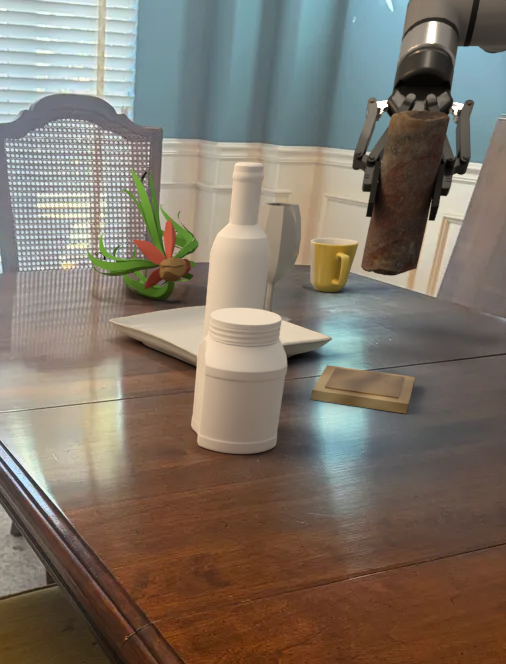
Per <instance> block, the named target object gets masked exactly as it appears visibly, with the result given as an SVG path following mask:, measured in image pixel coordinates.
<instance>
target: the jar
mask: <svg viewBox="0 0 506 664" xmlns="http://www.w3.org/2000/svg"><path fill="white" fill-rule="evenodd" d="M279 315H280V314H277V313H276V312H273V311H272V312H270V311H265V310H264V309H263V310H260V309H252V308H224V309H219V310H215V311H213V312H212V313H211V314H210V322H209V323H210V326H209V332H208V335H207V336H206V337H205V338H204V339H203V340H202V342H201V343H200V344H199V347H198V350H197V366H196V371H195V383H194V395H193V406H192V416H191V424H190V427H191V429H192V431H194V432H195V433H196V435H197V438H196V439H197V440H196V442H197V446H199V447H201V448H203V449H205V450H209V451H212V452H213V451H214V452H217V453H222V454H230V455H254V454H259V453H264V452H267V451H269V450H272V449H274V448H275V447H276V445H277V442H278V441H277V440H278V429H279V423H280V422H279V421H280V414H281V409H282V407H281V406H282V400H283V394H284V387H285V380H286V376H287V373H288V372H287V371H288V358H287V357H286V353H285V350H284V348H283V345H282V343H281V341H280V337H279V336H280V330H281V329H280V326H281V321H282V318H281V317H280V316H279Z"/></svg>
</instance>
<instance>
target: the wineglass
mask: <svg viewBox="0 0 506 664" xmlns="http://www.w3.org/2000/svg"><path fill="white" fill-rule="evenodd" d="M257 224H258V225H259V226H260V228H261V229H262V230H263V232H264V233H265V234H266V235H267V239H268V243H269V249H270V258H269V266H268V275H267V283H266V292H265V300H264V308H263V310H265V311H270V312H273V304H274V298H275V297H274V295H275V288H276V284H277V283H278V282H279V281H281V279H282V278H284V277H285V276H286V275H287V274H289V273H290V272H291V271H292V270H294V267H295V265H296V261H297V260H298V257H299V254H300V248H301V240H302V217H301V211H300V204H297V203H293V202H281V201H273V202H272V201H269V202H264V203H263V205H262V208H261V210H260V212H259V213H258V222H257ZM278 315H279V316H280V317H281V318H282V320H284V321H287V322H289V323H292V318H289V317H286V316H284V315H282V314H278Z"/></svg>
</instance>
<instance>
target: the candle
mask: <svg viewBox="0 0 506 664" xmlns="http://www.w3.org/2000/svg"><path fill="white" fill-rule="evenodd" d="M450 120H451V118H450V116H449V114H445V113H443V112H432V111H426V110H425V111H416V110H414V111H404V112H400V113H395V114H393V115H392V116H391V118H390V120H389V122H388V126H389V127H388V126H387V127H388V132H387V138H386V142H385V148H384V154H383V159H382V161H381V168H380V174H379V179H378V185H377V191H376V196H375V202H374V207H373V213H372V217H370V219H369V225H368V229H367V234H366V240H365V243H364V248H363V253H362V260H361V265H360V267H361V269H362V270H363V271H365V272H368V273H371V272H372V273H374V274H378V275H383V276H390V277H393V276H398V275H401V274H404V273H407V272H409V271H412V270H416V269H418V263H419V259H420V254H421V250H422V246H423V242H424V239H425V238H424V237H425V232H426V228H427V224H428V220H429V214H430V208H431V201H432V195H433V191H434V186H435V181H436V177H437V172H438V168H439V164H440V160H441V155H442V150H443V146H444V141H445V137H446V135H447V132H448V128H449V123H450Z"/></svg>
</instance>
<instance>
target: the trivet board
mask: <svg viewBox="0 0 506 664" xmlns="http://www.w3.org/2000/svg"><path fill="white" fill-rule="evenodd" d="M415 381H416V377H415V376H411V375H404V374H403V375H402V374H396V373H390V372H389V373H388V372H381V371H372V370H367V369H358V368H351V367H343V366H337V365H329V364H327V365H326V366H325V367H324V369H323V371H322V373H321V374H320V375H319V377H318V379H317V381H316V382H315V385H314V386H313V387H312V390H311V395H310V400H312V401H317V402H318V401H319V402H324V403H329V404H331V403H332V404H336V405H337V404H338V405H343V406H352V407H359V408H365V409H371V410H379V411H385V412H391V413H398V414H403V415H404V414H405V415H406V414H407V413H408V409H409V406H410V401H411V397H412V393H413V389H414V384H415Z"/></svg>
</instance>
